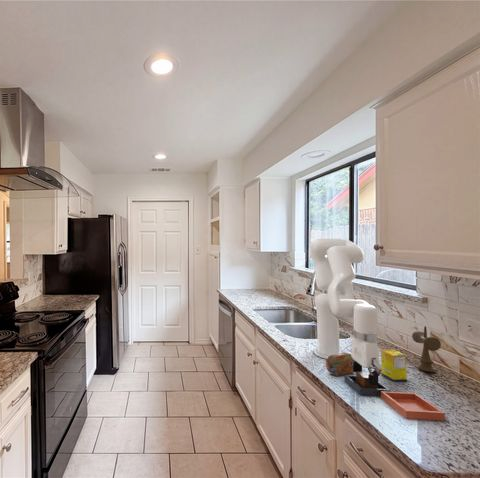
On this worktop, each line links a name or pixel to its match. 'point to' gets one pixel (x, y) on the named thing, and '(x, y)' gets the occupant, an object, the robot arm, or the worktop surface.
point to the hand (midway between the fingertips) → (365, 378)
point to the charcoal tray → (365, 391)
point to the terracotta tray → (412, 406)
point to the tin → (340, 364)
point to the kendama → (426, 349)
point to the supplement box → (393, 365)
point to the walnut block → (363, 380)
